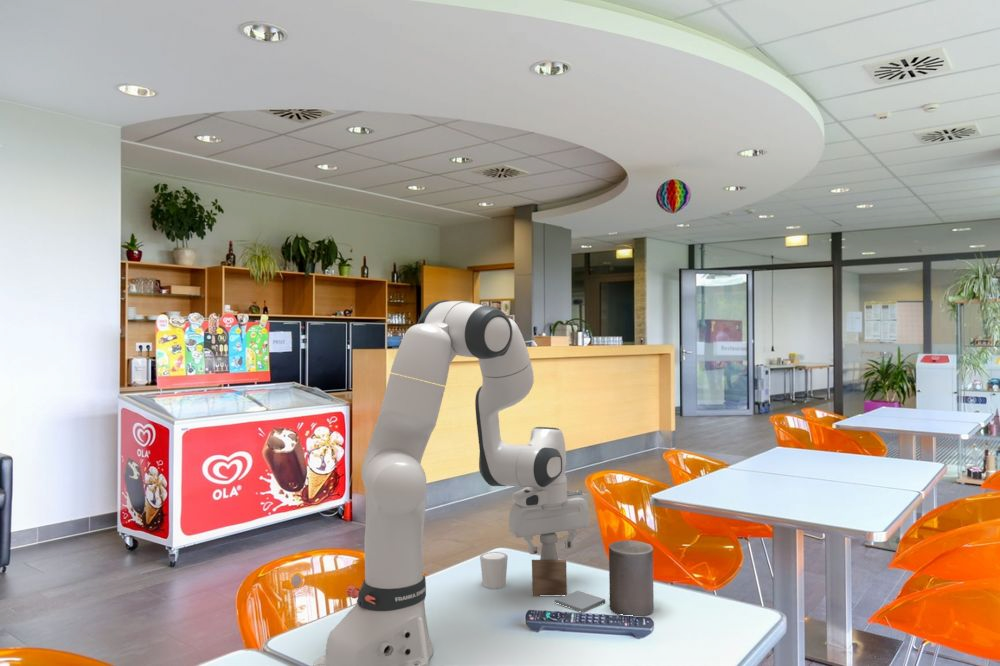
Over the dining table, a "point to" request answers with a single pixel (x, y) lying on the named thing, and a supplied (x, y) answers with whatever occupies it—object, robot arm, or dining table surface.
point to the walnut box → (549, 577)
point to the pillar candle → (631, 578)
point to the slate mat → (580, 601)
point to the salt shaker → (548, 546)
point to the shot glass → (494, 569)
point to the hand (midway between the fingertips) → (551, 550)
